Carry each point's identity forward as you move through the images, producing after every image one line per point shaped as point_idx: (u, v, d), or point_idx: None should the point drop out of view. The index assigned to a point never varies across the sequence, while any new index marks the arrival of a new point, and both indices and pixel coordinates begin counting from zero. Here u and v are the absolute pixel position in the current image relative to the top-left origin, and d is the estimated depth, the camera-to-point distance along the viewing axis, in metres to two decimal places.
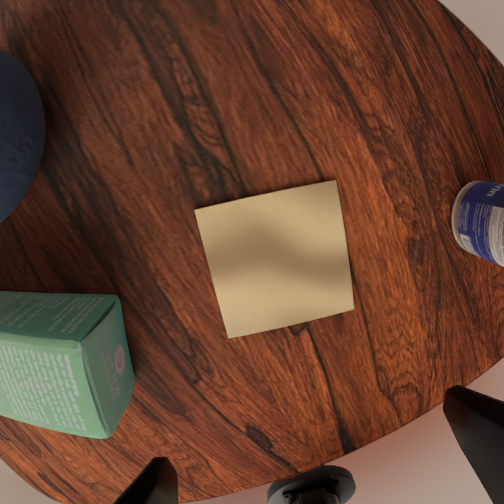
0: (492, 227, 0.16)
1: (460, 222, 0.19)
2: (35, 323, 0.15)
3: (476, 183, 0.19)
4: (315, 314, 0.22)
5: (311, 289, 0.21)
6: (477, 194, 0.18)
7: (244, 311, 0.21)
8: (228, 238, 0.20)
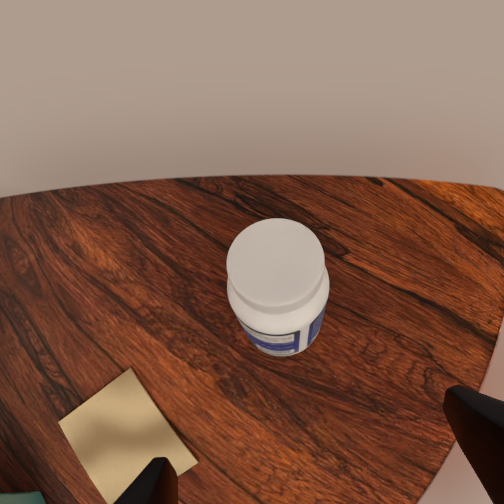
0: None
1: (248, 337, 0.22)
2: None
3: None
4: None
5: (150, 457, 0.19)
6: None
7: (113, 487, 0.18)
8: (82, 435, 0.20)
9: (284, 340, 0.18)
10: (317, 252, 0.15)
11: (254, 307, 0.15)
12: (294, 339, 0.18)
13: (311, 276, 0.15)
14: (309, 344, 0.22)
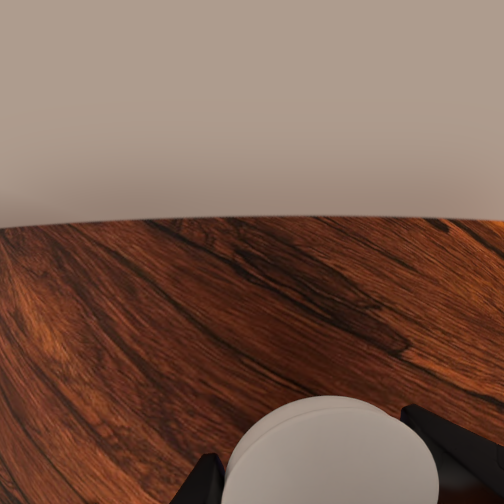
0: None
1: None
2: None
3: None
4: None
5: None
6: None
7: None
8: None
9: None
10: (428, 484, 0.05)
11: None
12: None
13: None
14: None
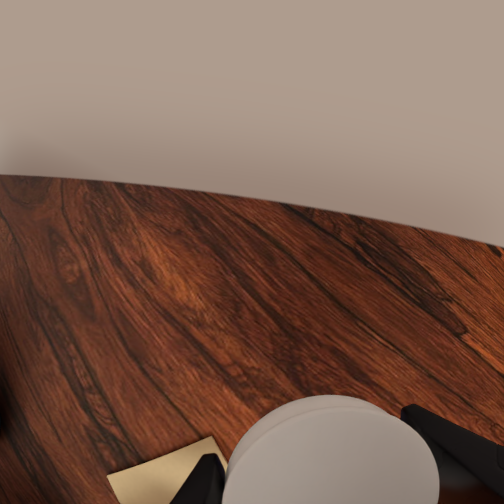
0: None
1: None
2: None
3: None
4: None
5: None
6: None
7: None
8: (136, 496, 0.16)
9: None
10: (428, 484, 0.05)
11: None
12: None
13: None
14: None
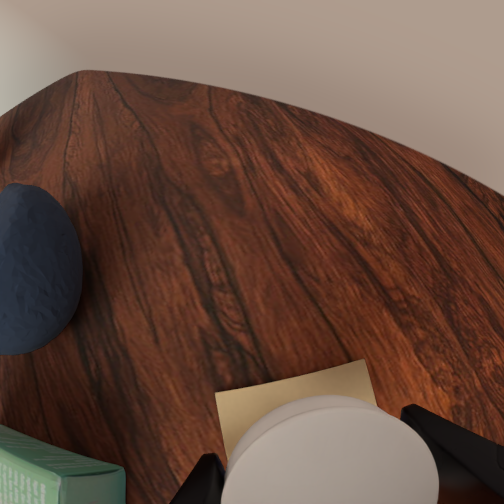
0: None
1: None
2: (25, 451, 0.11)
3: None
4: None
5: None
6: None
7: None
8: (249, 424, 0.16)
9: None
10: (428, 484, 0.05)
11: None
12: None
13: None
14: None
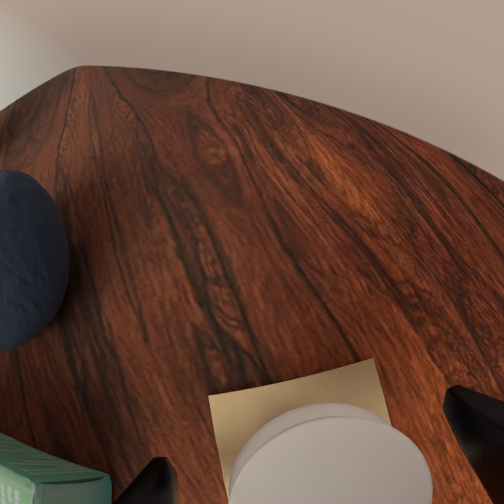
0: None
1: None
2: (2, 454, 0.10)
3: None
4: None
5: None
6: None
7: None
8: (246, 430, 0.15)
9: None
10: (422, 489, 0.05)
11: None
12: None
13: None
14: None
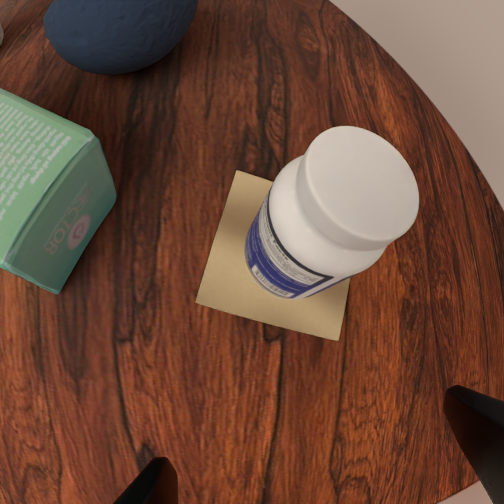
0: (260, 225, 0.15)
1: (247, 253, 0.18)
2: None
3: None
4: (298, 324, 0.19)
5: None
6: None
7: (229, 280, 0.19)
8: (252, 206, 0.20)
9: (303, 279, 0.14)
10: (414, 201, 0.11)
11: (315, 219, 0.11)
12: (313, 284, 0.14)
13: (400, 222, 0.10)
14: None
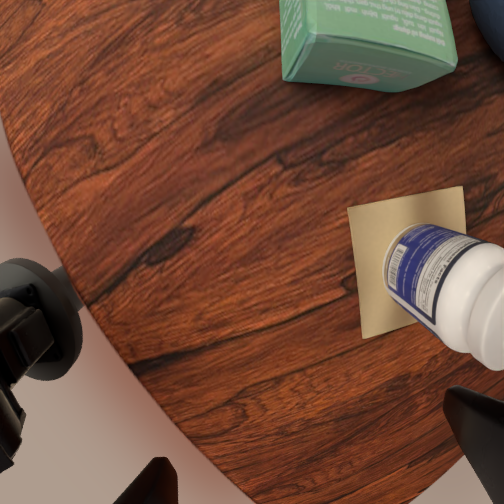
0: (447, 244, 0.14)
1: (410, 234, 0.17)
2: None
3: None
4: (366, 301, 0.20)
5: None
6: None
7: (378, 227, 0.19)
8: (441, 214, 0.19)
9: (421, 299, 0.14)
10: None
11: (482, 300, 0.10)
12: (418, 308, 0.15)
13: (495, 361, 0.10)
14: (393, 299, 0.19)
